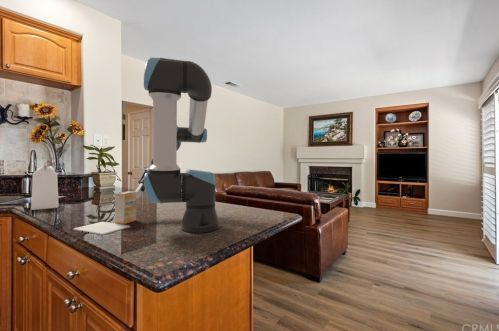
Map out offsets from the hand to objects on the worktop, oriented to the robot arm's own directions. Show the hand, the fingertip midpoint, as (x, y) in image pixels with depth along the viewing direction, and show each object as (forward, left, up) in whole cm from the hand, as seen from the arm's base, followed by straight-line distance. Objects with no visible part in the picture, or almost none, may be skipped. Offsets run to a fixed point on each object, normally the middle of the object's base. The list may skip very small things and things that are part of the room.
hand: (135, 196), depth 114 cm
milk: (+67, 0, -11) cm, 68 cm away
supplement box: (-1, +6, -11) cm, 12 cm away
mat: (-1, +17, -11) cm, 20 cm away
